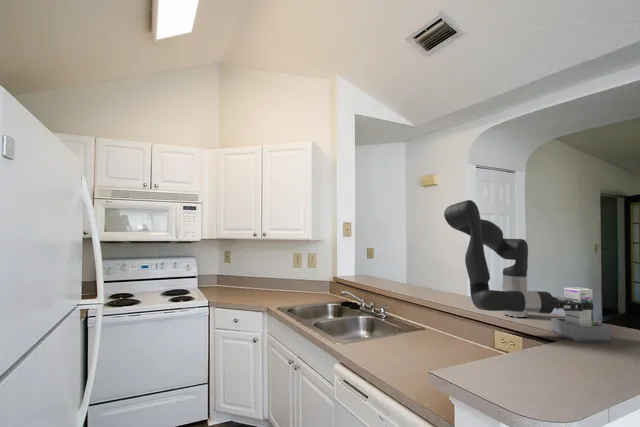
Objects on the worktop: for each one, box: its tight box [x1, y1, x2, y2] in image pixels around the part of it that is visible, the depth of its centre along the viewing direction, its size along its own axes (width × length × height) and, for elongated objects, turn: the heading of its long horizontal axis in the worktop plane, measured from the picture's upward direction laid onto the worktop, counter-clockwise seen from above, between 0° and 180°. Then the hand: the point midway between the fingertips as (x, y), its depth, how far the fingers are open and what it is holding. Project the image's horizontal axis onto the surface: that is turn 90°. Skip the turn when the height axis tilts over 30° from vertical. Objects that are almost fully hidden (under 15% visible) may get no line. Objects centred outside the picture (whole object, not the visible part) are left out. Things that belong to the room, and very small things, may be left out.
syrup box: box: [563, 286, 594, 326], centre depth 121 cm, size 6×6×14 cm
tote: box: [550, 317, 611, 344], centre depth 121 cm, size 12×12×5 cm
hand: (585, 304), depth 121 cm, fingers closed on syrup box, 7 cm apart
